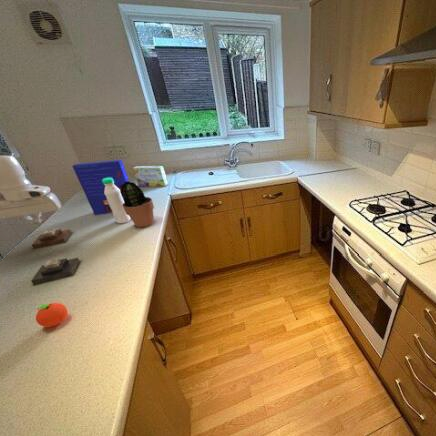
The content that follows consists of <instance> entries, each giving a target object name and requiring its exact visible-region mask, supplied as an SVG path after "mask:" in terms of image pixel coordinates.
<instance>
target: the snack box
mask: <svg viewBox="0 0 436 436" xmlns="http://www.w3.org/2000/svg"><path fill="white" fill-rule="evenodd" d="M132 171H133V174H134V177H135V180H136V182H137V186H138V187H166V186H168V185H169V182H168V178H167V175H166V171H165V168H164V166H163V165H135V166H134V167H132Z"/></svg>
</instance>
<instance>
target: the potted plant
mask: <svg viewBox="0 0 436 436" xmlns="http://www.w3.org/2000/svg"><path fill="white" fill-rule="evenodd" d="M121 195H122V197H123V200H124V203H123V208H124V210H125V212H126V214H127V215H129V216H130V218H131V219H130V220H131V221H132V222H133V224H134V225H135V227H136V228H146V227H149V226H152V225H153V224H154V223H155V220H154V219H155V218H154V216H155V215H154V208H155V206H154V202H153V198H152V197H149V196H145V193H144V191H143V189H142V188H140V186H139V185H138V184H136V182H133V181H132V182H131V181H129V182H128V181H127V182H125V183H124V184H123V185H121Z"/></svg>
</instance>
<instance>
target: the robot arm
mask: <svg viewBox="0 0 436 436" xmlns="http://www.w3.org/2000/svg"><path fill="white" fill-rule="evenodd" d="M51 190H52V189H51V187H49V186H46V185H39V184H38V185H37V184H32V183H31V181H30V180H29V179H28V178H27V177H26V171H25V170H24V169H23V167H22V165H21V164H20V162H19V161H18V159H17V158H16V157H15V156H14V155H13V154H12V153H10V152H8V151H7V152H6V151H3V150H0V220H4V219H10V218H19V217H22V218H23V219H24V220H26V221H28V222H29V223H30V225H36V224H41V223H42V222H43V221H42V219H41V217H42V214H43V213H50V212H56V211H59V210H60V209H61V208H62V203H61V201H60V200H59V198H58V197H57V195H56V194H55V193H54V192H51ZM31 215H34V217H36V218H33V217H32V216H31Z"/></svg>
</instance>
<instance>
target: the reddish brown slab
mask: <svg viewBox="0 0 436 436" xmlns="http://www.w3.org/2000/svg"><path fill="white" fill-rule="evenodd" d="M55 230H56V233H55V234H54V235H50V236H43V233H42V234H40V235H39V236H38V237H37V238H36V239H35V240H34V241H33V242H32V243H31V247H32V248H33V250H36V249H41V248H45V247H50V246H56V245H59V244H65V243H67V242H68V239H70V237H71V236H72V234H73V232H72V230H71V229H65V230H62V229H61V228H59V229H55Z"/></svg>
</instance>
